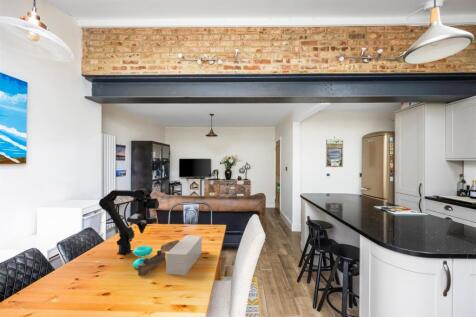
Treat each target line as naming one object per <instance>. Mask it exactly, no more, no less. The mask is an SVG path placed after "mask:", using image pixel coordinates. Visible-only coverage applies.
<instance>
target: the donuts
mask: <svg viewBox="0 0 476 317" xmlns="http://www.w3.org/2000/svg"><path fill="white" fill-rule="evenodd" d="M152 252H153V248H152V247H151V246H150V245H141V246H137V247H136V248H134V250H133V254H134V255H135V256H136V257H140V258H137V259H136V260H135V261H134V262H133V264H132V265H133V266H132V267H133V268H135V269H137V270H138V265H140V264H141V263H143V259H144V258H145V257H147V256H149V255H151V254H152ZM147 258H148V259H150V258H151V257H150V258H149V257H147Z"/></svg>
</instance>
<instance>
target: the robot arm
mask: <svg viewBox="0 0 476 317" xmlns="http://www.w3.org/2000/svg"><path fill="white" fill-rule="evenodd" d="M118 197H132V198H134V200H133V202H134V203H135V202H136V203H137V204H136V210H135V212H134V214H132V215H131V216H128V217H127V219H126V223H132V224H133V223H134V224H135V225H136V226H137V227H138V231H139V233H140V234H143V233H144V231H145V229H146V228H147V225H152V224H155V223H157V221H158V219H157V217H151V216H150V217H149V216H148V215H147V214H148V213H147V212H149V210H158V209H159V207H160V202H159V200H158V198H157V197H156V198H152V196H151V195H150V193H149V191H148V189H147V188H139V189H134V190H133V189H113V190H111V191H110V192H109V193H108V194H106V195H104V196H103V198H100V199H99V202H98V206H99V207H100V208H101V209H102V210H104V211H105V212H106V213H107V214H108V216H109V217H110V219H111V221H112V222H113V223H114V226H115V227H116V228H117V230H118V237H119V239H118V240H116V245H117V246H118V252H116V255H122V256H126V255H129V253H133V251H132V250H131V249H132V248H131V247H132V246H131V242H133V239H134V238H135V236H136V235H135V230H133V228H132V226H130V227H129V226H127V225H126V224H125V222H124V220H123V218H122V216H120V213H119V212H118V210H117V209H116V203H115V201H116V199H117V198H118Z"/></svg>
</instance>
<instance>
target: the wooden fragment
mask: <svg viewBox="0 0 476 317" xmlns="http://www.w3.org/2000/svg"><path fill="white" fill-rule="evenodd" d="M180 241H181V240H180V239H176V240H172V241H169V242H167V243H164V244H162V245H161V246H160V250H161V252H165V253H167V252H169V251H170V250H171V249H172V248H173V247H174V246H175V245H176V244H177V243H178V242H180Z"/></svg>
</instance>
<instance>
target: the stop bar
mask: <svg viewBox="0 0 476 317" xmlns="http://www.w3.org/2000/svg"><path fill="white" fill-rule="evenodd" d="M143 258H144V259H143V263H141V264H140V265H138V269H137V275H138V276H141V275H142V276H143V275H144V276H145V275H147V274H148V273H149V271H150V272H151V271H153V270H154V269H156V268H157V267H158V266H160V265H162V264H163V263H165V262H166V252H161V249H160V250H157V251H156V254H155V255H154V256H153V255H152V257H150V259H148V258H149V257H143ZM152 269H153V270H152ZM146 273H147V274H146Z"/></svg>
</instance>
